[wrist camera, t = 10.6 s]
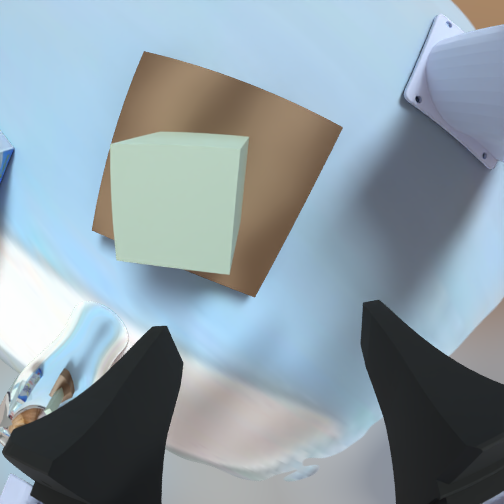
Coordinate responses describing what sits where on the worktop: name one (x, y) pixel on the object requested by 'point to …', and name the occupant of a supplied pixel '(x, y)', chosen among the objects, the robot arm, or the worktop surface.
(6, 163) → the medicine box
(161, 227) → the sage block
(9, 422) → the beer glass
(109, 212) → the walnut base
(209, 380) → the worktop surface
